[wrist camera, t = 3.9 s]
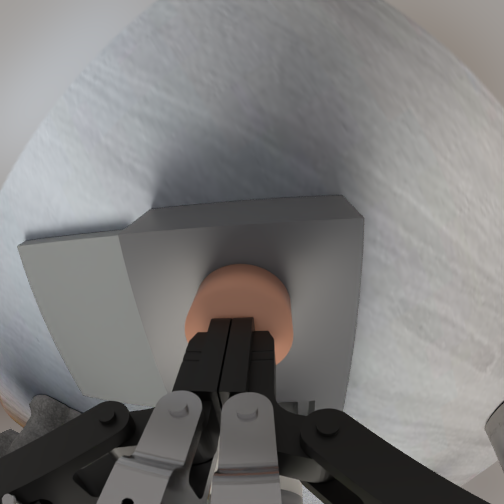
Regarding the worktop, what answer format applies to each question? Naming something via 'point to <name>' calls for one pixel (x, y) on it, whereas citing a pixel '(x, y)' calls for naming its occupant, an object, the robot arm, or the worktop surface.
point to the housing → (264, 256)
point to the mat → (93, 315)
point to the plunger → (244, 303)
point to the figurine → (38, 424)
